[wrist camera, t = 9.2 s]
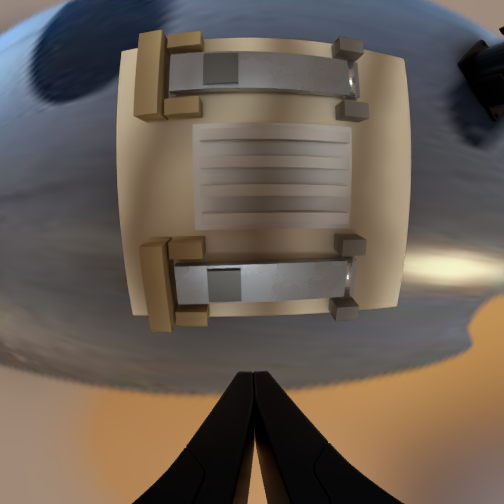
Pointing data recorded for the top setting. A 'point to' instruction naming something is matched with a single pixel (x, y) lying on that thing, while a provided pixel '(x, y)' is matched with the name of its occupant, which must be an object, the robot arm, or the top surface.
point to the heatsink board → (370, 178)
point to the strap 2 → (265, 280)
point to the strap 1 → (263, 73)
